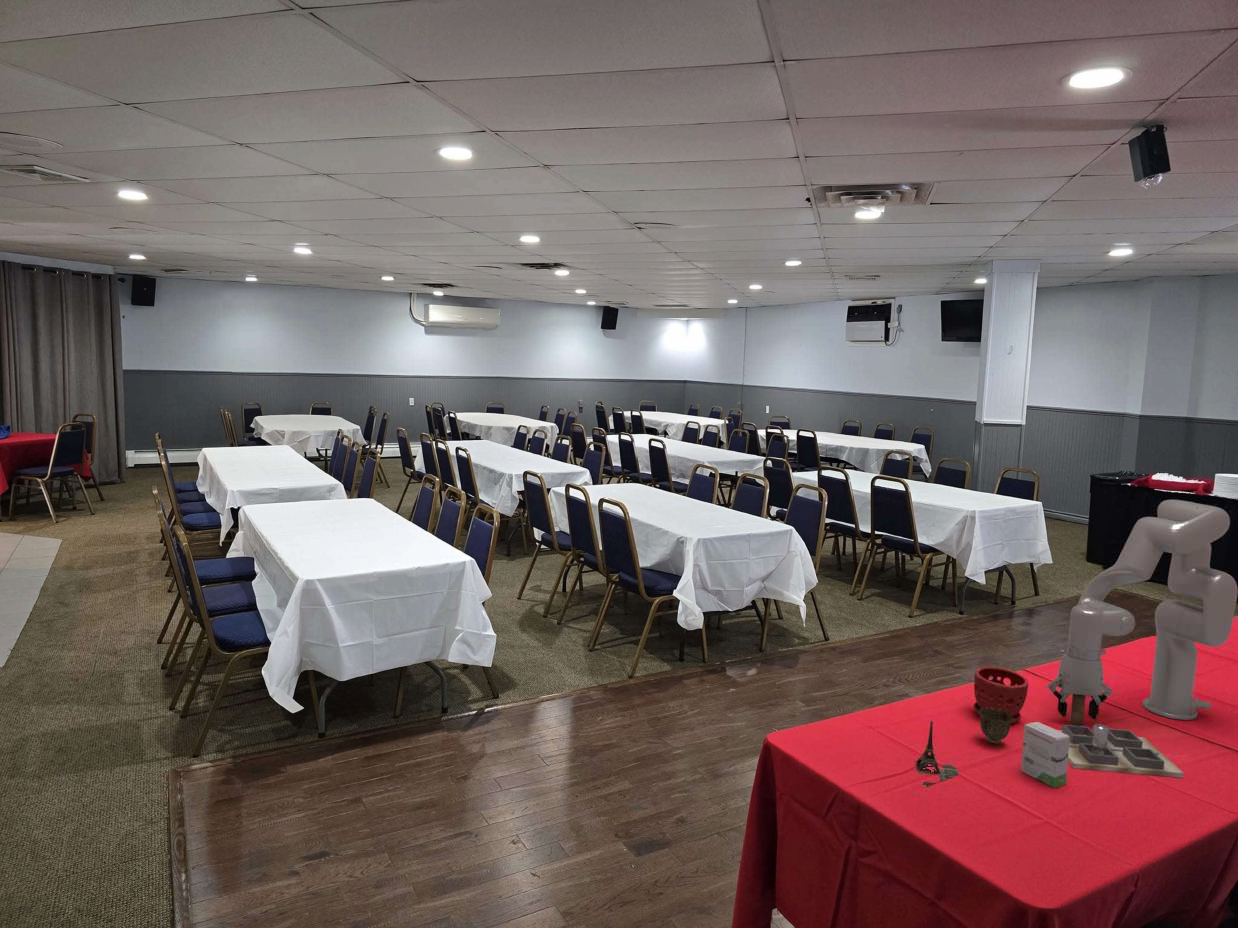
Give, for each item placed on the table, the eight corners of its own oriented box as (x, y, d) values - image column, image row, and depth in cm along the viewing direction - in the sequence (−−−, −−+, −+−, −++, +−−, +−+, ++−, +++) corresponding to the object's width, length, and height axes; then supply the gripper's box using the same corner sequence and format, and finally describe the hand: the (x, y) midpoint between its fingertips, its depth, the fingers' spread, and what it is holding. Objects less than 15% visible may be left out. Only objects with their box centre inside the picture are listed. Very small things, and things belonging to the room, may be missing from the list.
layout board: (1143, 741, 201) (1147, 707, 200) (1183, 777, 183) (1187, 740, 182) (1044, 733, 204) (1047, 699, 203) (1073, 767, 187) (1076, 731, 186)
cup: (1013, 751, 194) (1016, 720, 193) (981, 747, 196) (984, 717, 195) (1005, 737, 202) (1007, 708, 201) (974, 734, 203) (976, 704, 202)
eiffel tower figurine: (926, 789, 177) (930, 734, 175) (890, 769, 185) (894, 716, 184) (968, 773, 184) (972, 719, 182) (931, 754, 193) (935, 703, 191)
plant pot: (972, 722, 210) (976, 679, 208) (970, 703, 222) (974, 663, 220) (1027, 731, 205) (1031, 688, 204) (1022, 711, 217) (1025, 670, 216)
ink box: (1067, 784, 179) (1072, 735, 178) (1053, 788, 177) (1057, 739, 176) (1033, 766, 187) (1037, 719, 186) (1019, 770, 185) (1023, 723, 183)
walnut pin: (1079, 721, 212) (1082, 693, 211) (1084, 726, 209) (1087, 697, 208) (1068, 720, 212) (1070, 692, 211) (1072, 725, 209) (1075, 697, 208)
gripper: (1111, 649, 211) (1105, 712, 213) (1043, 645, 213) (1037, 707, 215) (1125, 660, 203) (1118, 725, 205) (1054, 655, 206) (1048, 719, 208)
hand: (1077, 715), depth 210 cm, fingers open, 6 cm apart
